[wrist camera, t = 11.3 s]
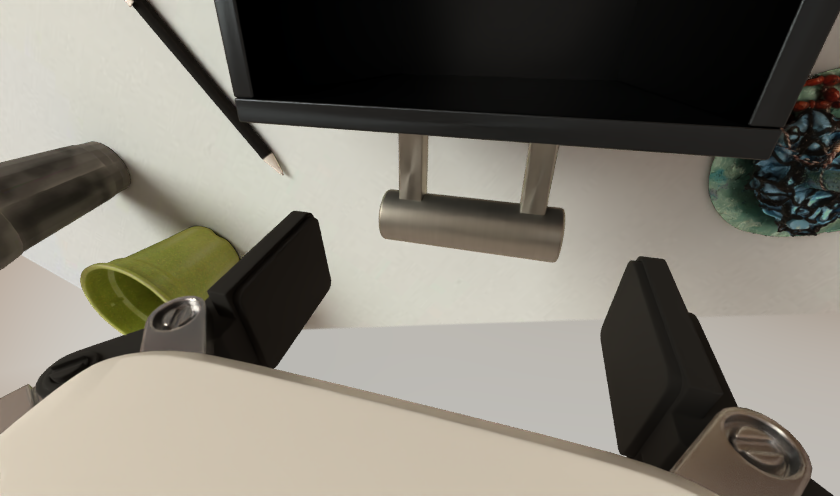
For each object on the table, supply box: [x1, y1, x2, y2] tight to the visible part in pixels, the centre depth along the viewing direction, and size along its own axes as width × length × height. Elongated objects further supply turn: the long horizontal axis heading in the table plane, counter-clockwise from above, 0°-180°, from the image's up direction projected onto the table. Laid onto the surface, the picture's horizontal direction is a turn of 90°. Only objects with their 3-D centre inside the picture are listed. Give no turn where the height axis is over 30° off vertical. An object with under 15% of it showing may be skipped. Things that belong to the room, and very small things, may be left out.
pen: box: [125, 0, 284, 175], centre depth 24 cm, size 1×19×1 cm, turn 35°
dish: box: [709, 68, 840, 237], centre depth 18 cm, size 8×7×8 cm
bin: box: [214, 0, 840, 262], centre depth 13 cm, size 14×12×13 cm
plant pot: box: [80, 226, 239, 335], centre depth 32 cm, size 9×9×9 cm
